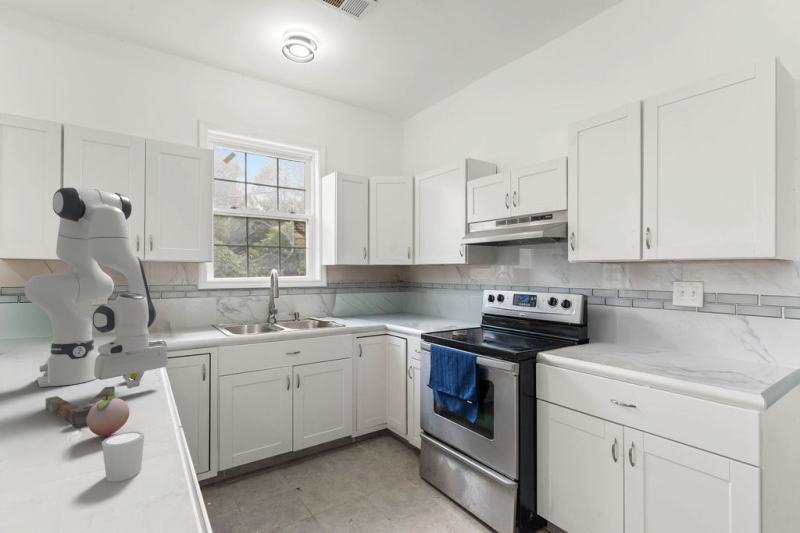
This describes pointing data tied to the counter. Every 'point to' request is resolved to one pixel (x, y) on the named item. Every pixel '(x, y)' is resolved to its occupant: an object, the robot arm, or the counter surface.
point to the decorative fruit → (107, 416)
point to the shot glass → (123, 455)
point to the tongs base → (68, 411)
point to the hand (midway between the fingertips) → (133, 386)
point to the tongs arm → (104, 394)
